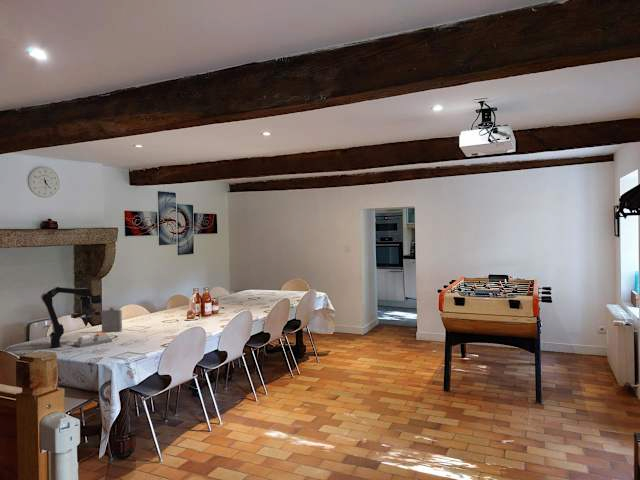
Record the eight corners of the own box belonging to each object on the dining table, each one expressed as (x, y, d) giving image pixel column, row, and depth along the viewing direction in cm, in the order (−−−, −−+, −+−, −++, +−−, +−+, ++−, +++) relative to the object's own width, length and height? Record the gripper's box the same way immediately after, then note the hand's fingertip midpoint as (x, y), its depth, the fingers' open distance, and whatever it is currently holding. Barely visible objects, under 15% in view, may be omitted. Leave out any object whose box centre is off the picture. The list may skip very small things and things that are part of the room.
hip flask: (101, 332, 365) (100, 307, 365) (103, 331, 369) (102, 307, 369) (121, 331, 366) (120, 307, 366) (123, 330, 370) (122, 306, 370)
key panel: (74, 344, 324) (74, 337, 324) (105, 339, 340) (105, 332, 340) (80, 347, 316) (80, 340, 316) (112, 341, 332) (111, 335, 332)
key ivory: (80, 340, 324) (80, 336, 324) (87, 339, 328) (87, 335, 328) (82, 341, 321) (82, 337, 321) (90, 340, 324) (90, 336, 324)
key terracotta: (96, 337, 332) (96, 333, 332) (103, 336, 336) (103, 332, 336) (98, 338, 329) (98, 334, 329) (105, 337, 332) (105, 333, 332)
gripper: (76, 307, 319) (76, 329, 320) (103, 304, 333) (103, 325, 333) (70, 306, 327) (70, 327, 327) (97, 303, 341) (97, 323, 341)
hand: (86, 325), depth 332 cm, fingers closed
